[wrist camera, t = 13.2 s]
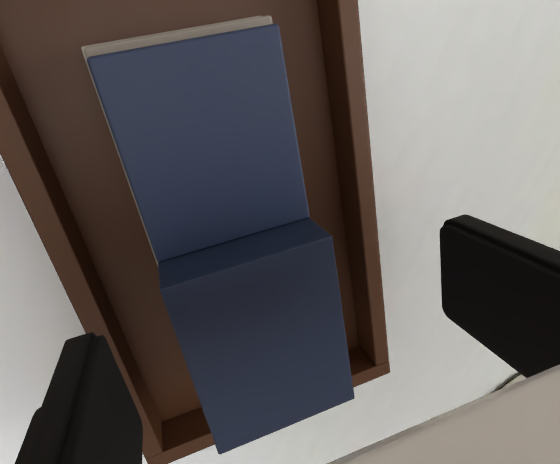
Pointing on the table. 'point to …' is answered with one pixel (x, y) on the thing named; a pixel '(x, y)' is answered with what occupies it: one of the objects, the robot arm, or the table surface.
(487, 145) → the table surface
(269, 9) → the tray
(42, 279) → the table surface
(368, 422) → the table surface
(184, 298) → the blue stair step block
